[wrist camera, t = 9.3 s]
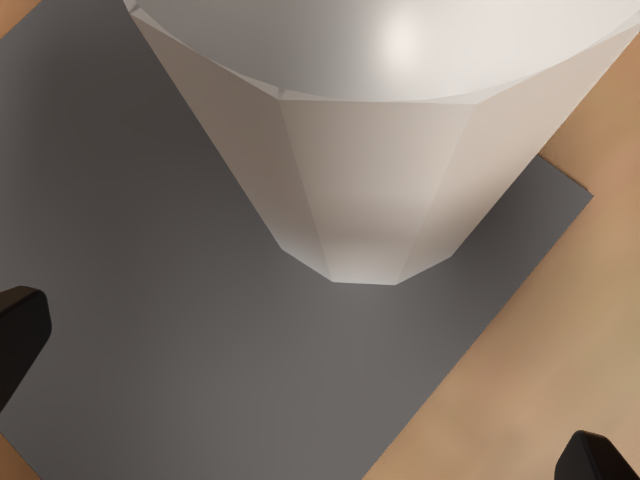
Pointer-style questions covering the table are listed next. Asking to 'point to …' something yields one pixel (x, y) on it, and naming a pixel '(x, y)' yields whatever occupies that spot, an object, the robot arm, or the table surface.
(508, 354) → the table surface
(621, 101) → the table surface
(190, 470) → the mat
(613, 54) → the cover cup
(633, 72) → the table surface
